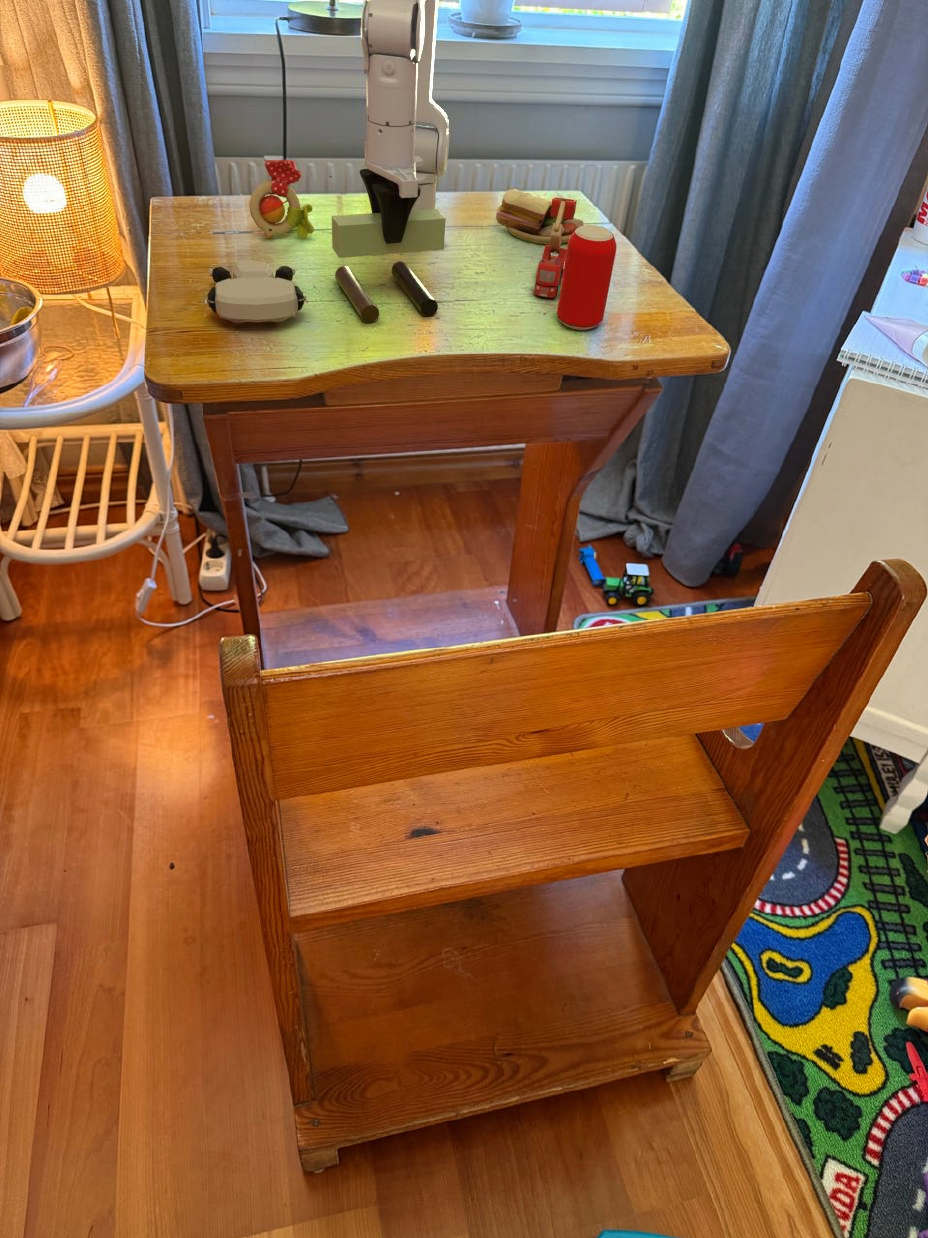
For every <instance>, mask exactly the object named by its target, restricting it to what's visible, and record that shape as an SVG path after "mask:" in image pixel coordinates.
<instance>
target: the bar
mask: <svg viewBox="0 0 928 1238" xmlns="http://www.w3.org/2000/svg"><path fill="white" fill-rule="evenodd" d="M445 234H446V217H445V216H444V215H443V214H442V213H441V212H440V211H439V210H438V209H437V208H435V209H431V210H416V211H411V212H410V215H409V218H408V221H407V225H406V229H405V233H404V236H403V240H402V242H401V243H391V244H386V242H385V240H384V236H383V230H382V220H381V213H372V212H371V213H357V214H343V215H331V245H332V246H331V248H332V250H333V251H334V252H335V255H336V256H337V257H338V258H339V259H345V258H358V257H369V256H383V255H395V254H406V253H418V252H420V253H421V252H433V251H444V249H445V237H446V235H445Z"/></svg>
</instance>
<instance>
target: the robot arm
mask: <svg viewBox="0 0 928 1238" xmlns="http://www.w3.org/2000/svg"><path fill="white" fill-rule="evenodd" d="M438 10H439V0H364V1H363V5H362V11H361V16H360V17H361V18H360V20H361V21H360V39H361V46H362V48H361V49H362V52H363V53H362V55H363V74H364V75H366V140H364V167H366V168H362V169H360V170H359V175H360V177H361V180H362V182H363V184H364V187H365V190H366V193H367V196H368V200H369V205H370V210H371V213H381V220H382V230H383V236H384V240H385V242H386V244H391V243H401V242H402V240H403V236H404V233H405V229H406V225H407V221H408V218H409V215H410V212H411V211H416V210H431V209H436V200H437V199H436V197H437V181H438V180H437V179H438V178H443V176H444V175H445V174H446V172H447V168H448V160H449V146H450V131H449V130H450V120H449V118H448V115H447V113H446V112H445V111H444V109H442V108H441V107H440V106H439V105H438V104H437V103H436V102H435V101H434V100H433V98H432V94H433V81H434V80H433V79H434V68H435V67H434V65H435V54H436V53H435V51H436V36H437V26H438V25H437V23H438ZM416 122H419V123H427V124H430V125H433V126H424V125H417V124H416Z"/></svg>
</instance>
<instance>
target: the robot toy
mask: <svg viewBox="0 0 928 1238" xmlns="http://www.w3.org/2000/svg"><path fill="white" fill-rule="evenodd" d="M296 271H297V269H296V267H290V266H289V265H281V266H279V267H278V268H277V269H276V270H275V274H274V268H273V267H272V266H271V265H270V263H268V262H265V261H261V260H260V261H259V260H248V261H247V260H245V261H241V262H237V263H235V265H234V266H233V267H232V275H231V271H229V270H228V269H227V268H225V267H224V266H223V267H222V266H216V267H214V268H209V269H208V274H209V275H210V277H212V280H213V282H214V283H215V286H214V287H211V289H210V291H209V292H208V294H207V297H204V306H208V308H210V309H211V311H212V312H213V313H215V314H217V316H218V317H219V318H220V319H223V320H225V321H230V322H232V323H234V324H243V323H266V322H267V323H268V322H272V323H281V322H284V321H285V320H288V319H290V318H293V317H295V316H297V313H298V312H300V311H301V310H302V308H303V307H304V305H305V303H306V304H308V303H309V299H308V298H307V295H304V292H303V291H302V289H300V287H299V286H297V285H294V283H293V278H294V276H295V274H296Z"/></svg>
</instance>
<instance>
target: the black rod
mask: <svg viewBox="0 0 928 1238" xmlns="http://www.w3.org/2000/svg"><path fill="white" fill-rule="evenodd" d="M391 275H392V276H393V278H394V279H395V280H396V282H397V283H398V285H400V287H401V288H402V290H403V292H405V294H406V295H407V296H408V297H409V299H410V300H411V301H412V303H413V304H414V305H415V307H416V308H417V309H418V311H419V312H420V314H421V315H422V316H424V317H426V318H430V317H433V316H434V315H435V314H436V313H437V311H438V310H439V305H438V302H437V301H436V299H435V298H434V297H433V296H432V294H431V293H430V291H429V290H428V289H427V288H426V287H425V285H424V284H423V283H422V281H420V279H419V278H418V277H417V276H416V274H415V272H413V270H412V269H411V268H410V266H409V265H408V264H407V263H406V262H405V261H403V260H402V261H401V260H399V261H397V262H395V263H394V264H393V265H392V266H391Z"/></svg>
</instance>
